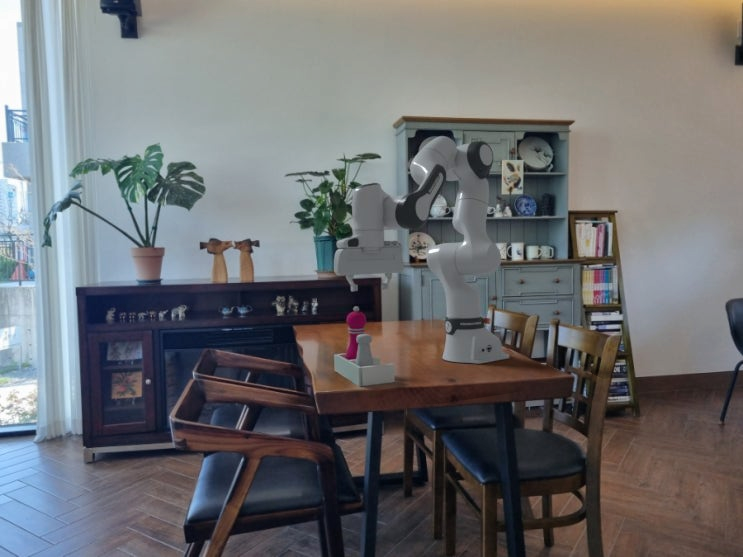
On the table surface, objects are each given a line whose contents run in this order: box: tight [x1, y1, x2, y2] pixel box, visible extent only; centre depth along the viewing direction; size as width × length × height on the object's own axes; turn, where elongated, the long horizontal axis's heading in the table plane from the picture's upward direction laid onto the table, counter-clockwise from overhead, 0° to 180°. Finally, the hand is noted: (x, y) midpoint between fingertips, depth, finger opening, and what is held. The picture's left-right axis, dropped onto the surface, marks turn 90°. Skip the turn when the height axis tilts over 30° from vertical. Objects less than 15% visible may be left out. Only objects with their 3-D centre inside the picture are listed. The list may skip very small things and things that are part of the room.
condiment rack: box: [333, 352, 395, 387], centre depth 146 cm, size 10×21×5 cm, turn 23°
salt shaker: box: [356, 333, 374, 367], centre depth 140 cm, size 6×6×13 cm
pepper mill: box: [345, 306, 367, 360], centre depth 150 cm, size 7×7×20 cm
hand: (369, 290), depth 141 cm, fingers open, 8 cm apart
